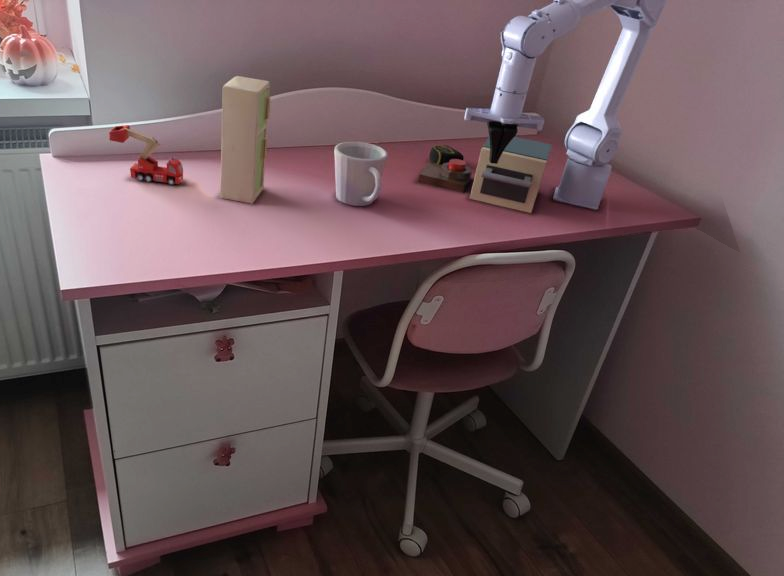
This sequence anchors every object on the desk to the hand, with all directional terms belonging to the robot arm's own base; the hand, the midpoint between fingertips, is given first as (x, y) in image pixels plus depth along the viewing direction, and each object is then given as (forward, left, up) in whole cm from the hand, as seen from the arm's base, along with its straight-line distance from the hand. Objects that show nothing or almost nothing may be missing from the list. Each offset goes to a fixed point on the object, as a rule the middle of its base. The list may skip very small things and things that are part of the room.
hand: (493, 161), depth 131 cm
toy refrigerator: (+44, +20, -11) cm, 49 cm away
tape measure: (+13, -23, -11) cm, 29 cm away
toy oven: (-3, -12, -10) cm, 16 cm away
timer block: (+10, -12, -10) cm, 19 cm away
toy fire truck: (+63, +24, -11) cm, 68 cm away
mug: (+23, +11, -11) cm, 27 cm away
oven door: (-3, -4, -10) cm, 11 cm away
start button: (+8, -12, -7) cm, 16 cm away
